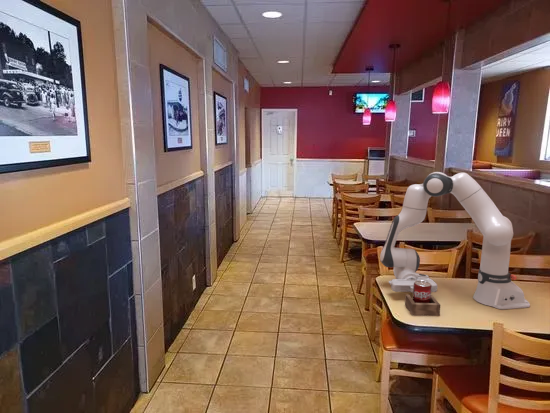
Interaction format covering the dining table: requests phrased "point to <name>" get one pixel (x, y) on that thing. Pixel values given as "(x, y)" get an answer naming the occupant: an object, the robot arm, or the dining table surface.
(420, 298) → the soda can
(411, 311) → the brown wooden u-shaped frame
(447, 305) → the dining table surface
